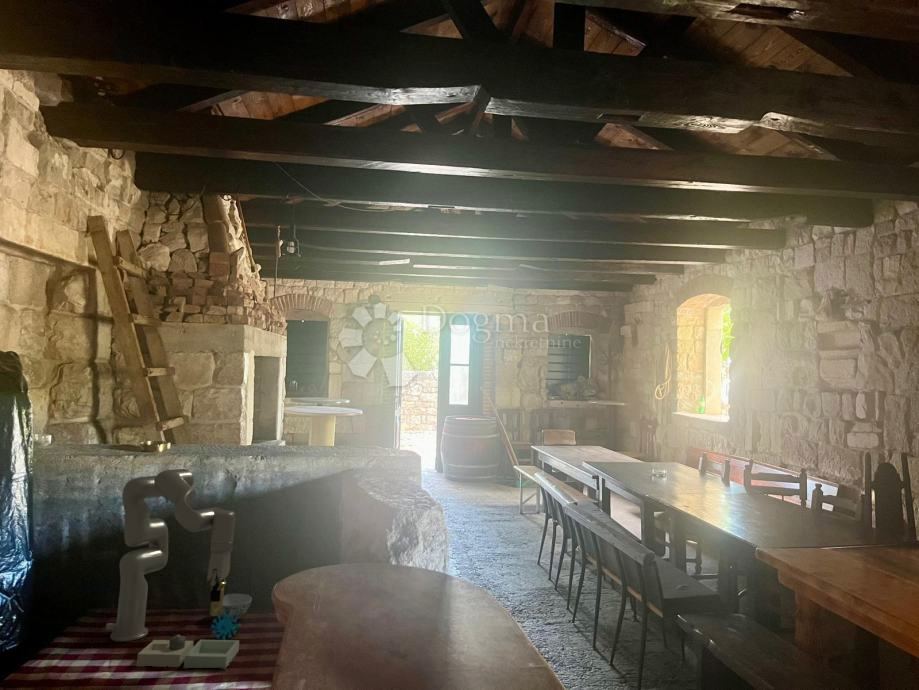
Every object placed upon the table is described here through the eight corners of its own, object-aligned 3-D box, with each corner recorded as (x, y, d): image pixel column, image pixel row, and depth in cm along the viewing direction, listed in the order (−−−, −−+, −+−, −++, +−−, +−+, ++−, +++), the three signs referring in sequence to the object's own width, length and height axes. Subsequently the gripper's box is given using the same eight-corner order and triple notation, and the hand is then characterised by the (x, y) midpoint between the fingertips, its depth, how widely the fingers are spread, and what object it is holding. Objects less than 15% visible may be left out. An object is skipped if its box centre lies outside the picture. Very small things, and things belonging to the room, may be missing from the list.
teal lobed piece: (210, 638, 218) (212, 612, 225) (206, 646, 221) (209, 620, 228) (240, 638, 223) (242, 613, 230) (236, 645, 226) (238, 620, 233)
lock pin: (205, 616, 202) (208, 583, 204) (211, 611, 208) (214, 579, 209) (221, 616, 203) (223, 584, 204) (226, 611, 208) (228, 580, 209)
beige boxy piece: (136, 666, 196) (139, 641, 197) (152, 651, 208) (155, 628, 209) (178, 667, 197) (181, 642, 198) (192, 652, 209) (194, 629, 210)
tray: (183, 668, 196) (184, 656, 197) (199, 651, 210) (200, 639, 210) (225, 669, 197) (226, 656, 197) (238, 651, 211) (239, 640, 211)
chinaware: (212, 614, 247) (213, 595, 248) (249, 610, 253) (250, 592, 253) (212, 626, 233) (213, 606, 234) (251, 623, 239) (253, 603, 240)
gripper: (219, 540, 216) (214, 591, 214) (202, 551, 199) (197, 607, 197) (239, 541, 216) (235, 592, 214) (224, 552, 200) (220, 607, 198)
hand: (217, 598), depth 206 cm, fingers closed on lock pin, 4 cm apart
